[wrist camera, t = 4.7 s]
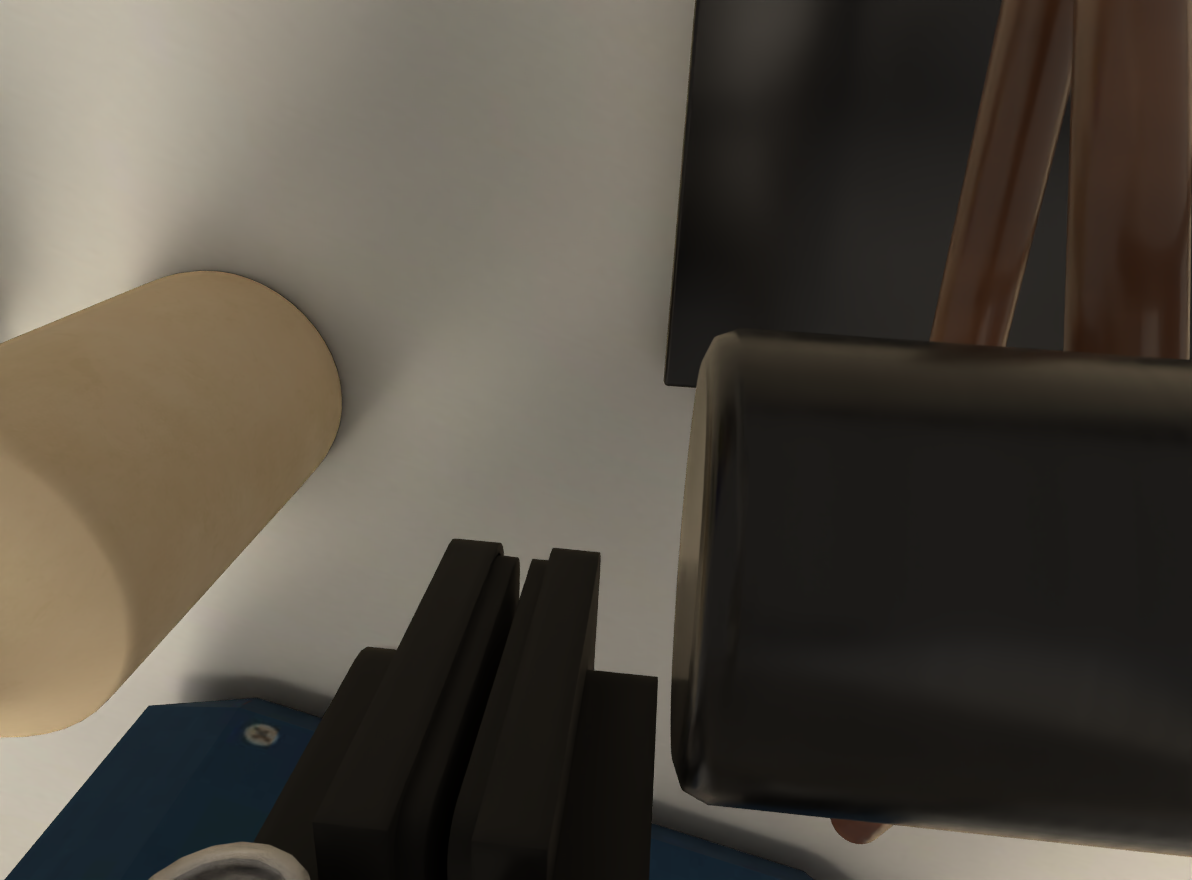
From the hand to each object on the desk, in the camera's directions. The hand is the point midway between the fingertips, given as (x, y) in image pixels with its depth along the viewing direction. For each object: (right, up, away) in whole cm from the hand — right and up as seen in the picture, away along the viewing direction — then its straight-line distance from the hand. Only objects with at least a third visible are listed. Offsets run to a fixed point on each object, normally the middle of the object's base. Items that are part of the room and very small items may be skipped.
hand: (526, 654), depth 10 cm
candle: (-8, +4, +10) cm, 14 cm away
